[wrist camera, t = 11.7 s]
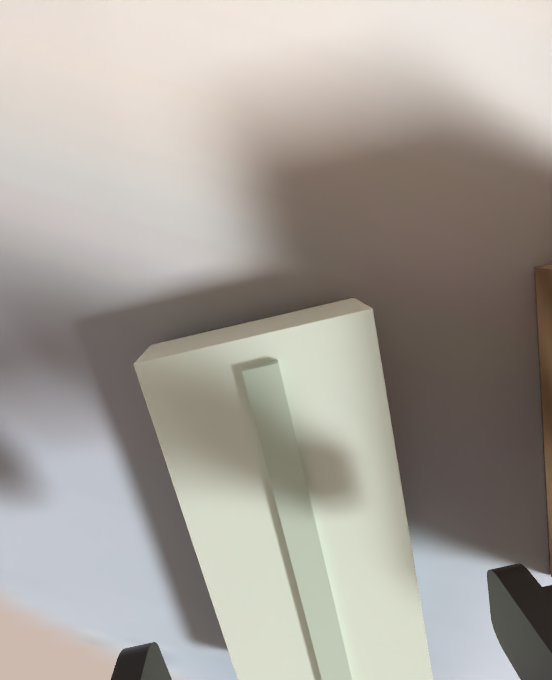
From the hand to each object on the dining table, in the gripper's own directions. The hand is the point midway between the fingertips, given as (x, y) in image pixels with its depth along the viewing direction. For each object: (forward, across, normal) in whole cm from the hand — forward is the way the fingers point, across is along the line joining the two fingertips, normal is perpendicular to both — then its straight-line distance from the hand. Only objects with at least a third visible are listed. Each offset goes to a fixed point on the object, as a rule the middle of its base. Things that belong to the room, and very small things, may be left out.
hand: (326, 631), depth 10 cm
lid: (+5, 0, 0) cm, 5 cm away
